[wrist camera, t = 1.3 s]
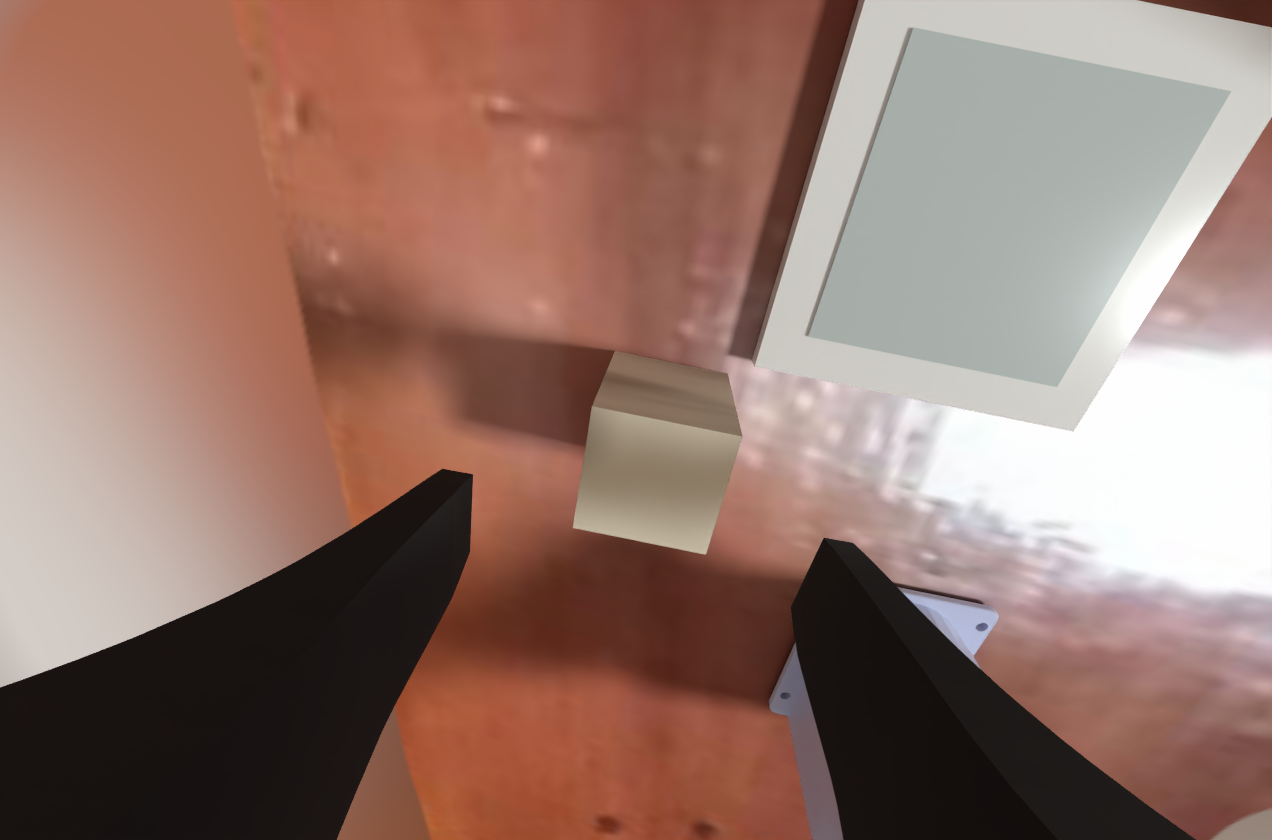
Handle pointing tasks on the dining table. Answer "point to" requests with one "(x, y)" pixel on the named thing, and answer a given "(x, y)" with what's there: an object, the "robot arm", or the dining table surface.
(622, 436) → the metal block
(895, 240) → the plate
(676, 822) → the dining table surface
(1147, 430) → the dining table surface
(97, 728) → the robot arm
